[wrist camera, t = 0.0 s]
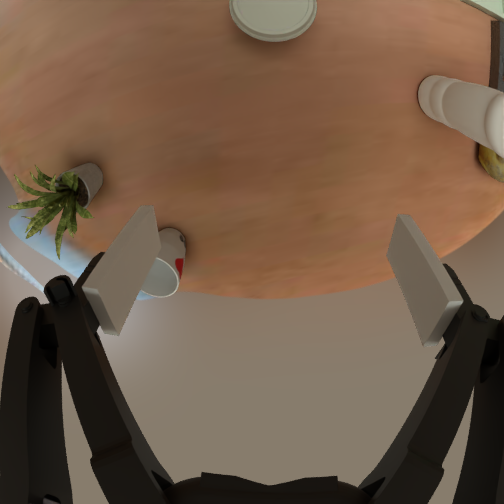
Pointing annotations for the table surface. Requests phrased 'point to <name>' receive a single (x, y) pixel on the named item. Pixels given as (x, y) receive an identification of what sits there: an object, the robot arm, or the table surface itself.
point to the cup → (166, 265)
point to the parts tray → (489, 7)
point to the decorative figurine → (491, 162)
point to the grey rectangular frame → (497, 56)
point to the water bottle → (465, 109)
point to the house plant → (62, 199)
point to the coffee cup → (273, 18)
